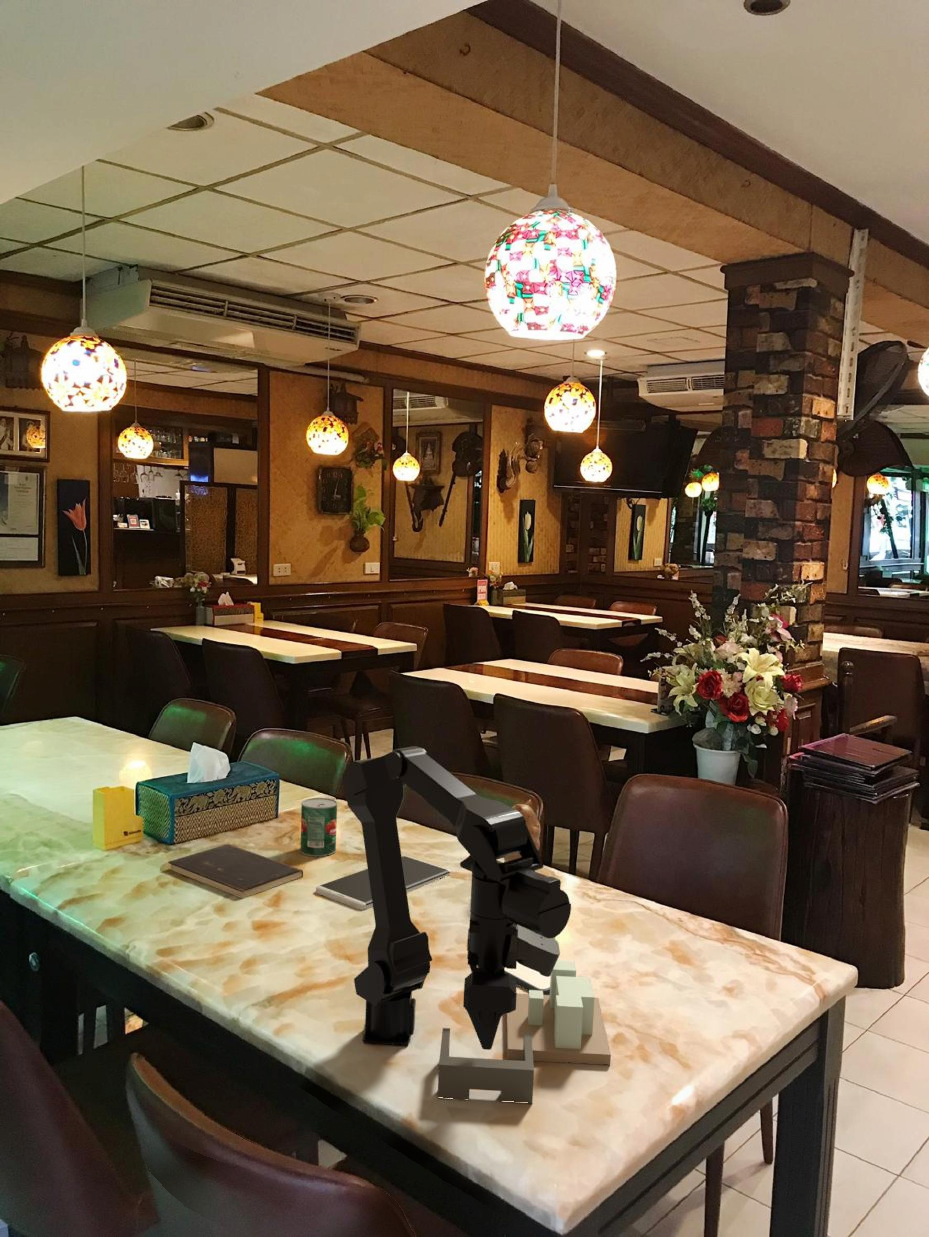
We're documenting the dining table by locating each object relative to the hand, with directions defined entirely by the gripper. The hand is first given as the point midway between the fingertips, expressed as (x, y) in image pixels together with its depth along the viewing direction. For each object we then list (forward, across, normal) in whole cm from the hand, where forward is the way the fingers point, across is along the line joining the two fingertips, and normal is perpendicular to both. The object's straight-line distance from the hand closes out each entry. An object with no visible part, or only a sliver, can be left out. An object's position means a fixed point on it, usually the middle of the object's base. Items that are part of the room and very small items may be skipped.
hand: (487, 1029), depth 121 cm
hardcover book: (+10, +73, +52) cm, 90 cm away
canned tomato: (+10, +89, +38) cm, 97 cm away
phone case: (+10, +36, -6) cm, 38 cm away
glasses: (+9, +3, 0) cm, 10 cm away
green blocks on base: (+9, +17, -10) cm, 22 cm away
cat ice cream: (+9, +73, -6) cm, 74 cm away
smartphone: (+10, +72, +21) cm, 75 cm away
